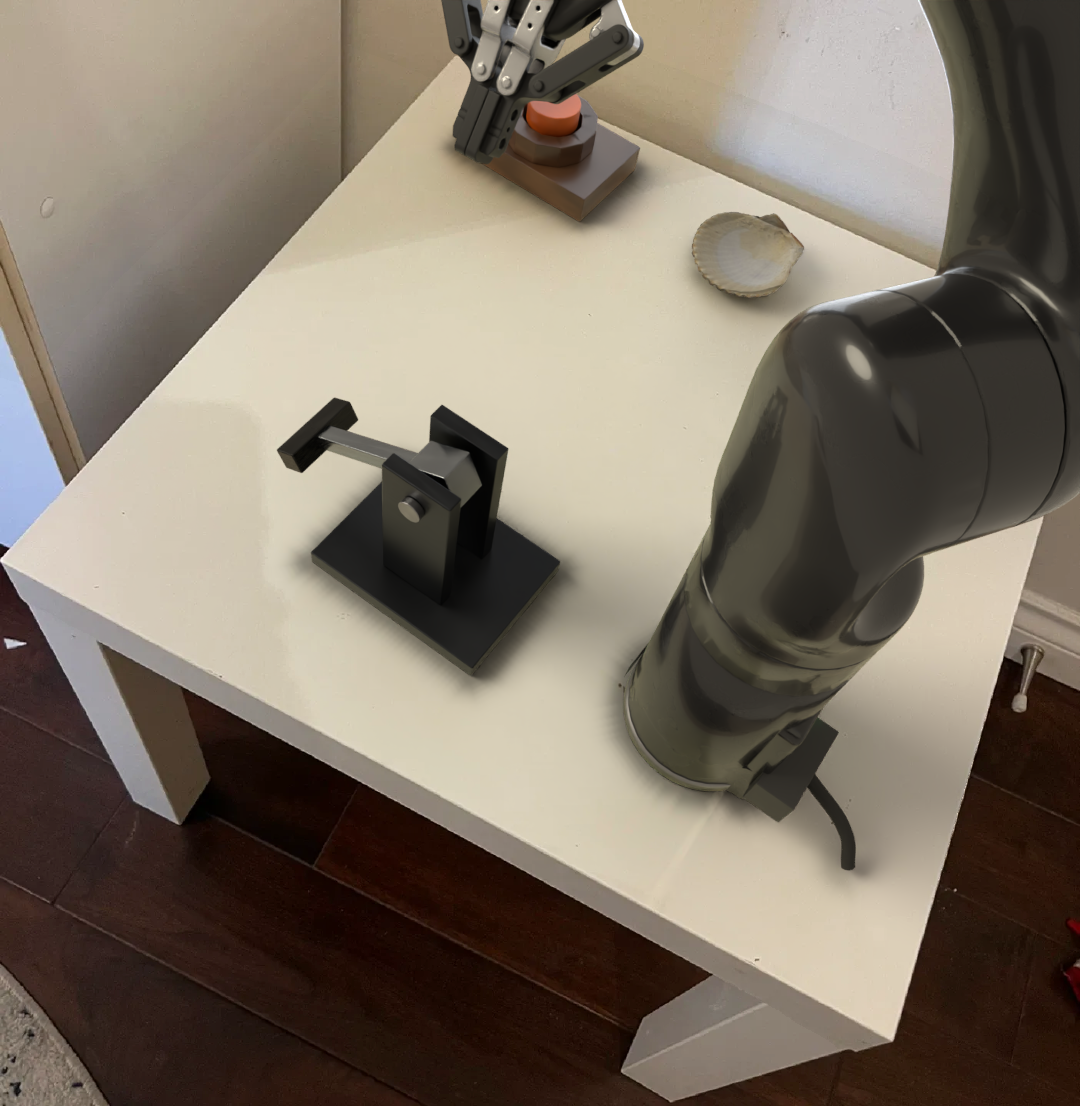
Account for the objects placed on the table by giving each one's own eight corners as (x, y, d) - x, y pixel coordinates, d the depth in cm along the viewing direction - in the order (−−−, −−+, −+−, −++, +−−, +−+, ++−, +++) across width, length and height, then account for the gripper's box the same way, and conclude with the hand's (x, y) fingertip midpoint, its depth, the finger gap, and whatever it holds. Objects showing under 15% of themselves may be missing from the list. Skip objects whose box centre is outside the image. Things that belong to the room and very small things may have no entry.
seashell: (674, 263, 81) (723, 319, 76) (673, 229, 79) (724, 285, 74) (767, 228, 82) (822, 282, 78) (769, 194, 80) (826, 247, 75)
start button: (587, 120, 80) (591, 100, 79) (558, 145, 78) (561, 126, 77) (545, 96, 81) (548, 76, 79) (515, 120, 79) (518, 101, 78)
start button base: (635, 170, 83) (645, 127, 80) (579, 222, 80) (588, 180, 76) (514, 100, 86) (519, 56, 82) (455, 148, 82) (458, 104, 79)
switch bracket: (311, 561, 63) (296, 448, 52) (406, 466, 67) (409, 344, 57) (470, 676, 60) (487, 581, 50) (558, 570, 64) (590, 462, 54)
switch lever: (289, 474, 60) (271, 443, 59) (346, 421, 63) (330, 389, 61) (441, 529, 54) (426, 496, 52) (498, 468, 56) (486, 434, 54)
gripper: (466, -267, 49) (342, 96, 56) (704, -159, 46) (541, 210, 54) (530, -205, 56) (412, 113, 63) (743, -107, 53) (593, 215, 60)
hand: (472, 157), depth 58 cm, fingers closed
